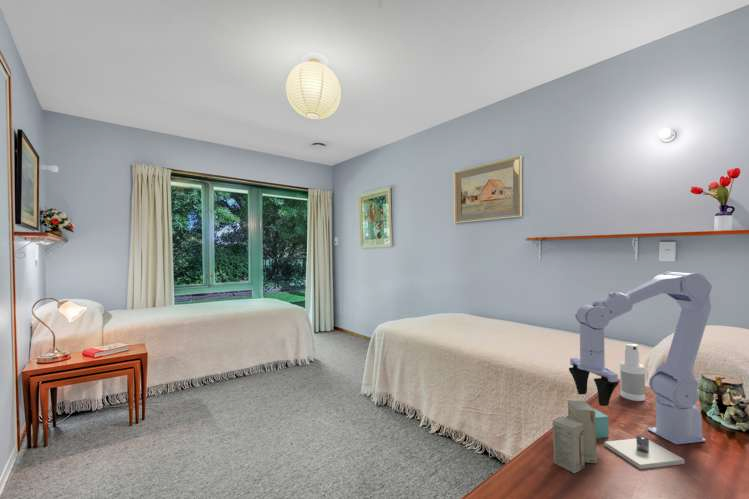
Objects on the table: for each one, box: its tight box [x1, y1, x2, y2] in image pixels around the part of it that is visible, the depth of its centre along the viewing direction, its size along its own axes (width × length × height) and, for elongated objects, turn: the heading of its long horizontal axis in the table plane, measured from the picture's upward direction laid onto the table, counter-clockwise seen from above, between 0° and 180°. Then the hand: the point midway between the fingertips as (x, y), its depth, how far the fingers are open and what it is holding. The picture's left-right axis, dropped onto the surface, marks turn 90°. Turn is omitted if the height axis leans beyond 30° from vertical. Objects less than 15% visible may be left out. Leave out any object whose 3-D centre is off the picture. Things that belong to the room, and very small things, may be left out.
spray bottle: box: [619, 343, 646, 402], centre depth 120 cm, size 7×7×18 cm
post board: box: [604, 434, 686, 470], centre depth 86 cm, size 12×10×4 cm
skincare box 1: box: [552, 416, 586, 474], centre depth 81 cm, size 5×4×10 cm
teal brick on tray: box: [592, 407, 610, 439], centre depth 96 cm, size 5×5×6 cm
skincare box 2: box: [567, 399, 598, 464], centre depth 85 cm, size 6×4×12 cm
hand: (592, 399), depth 96 cm, fingers open, 7 cm apart
